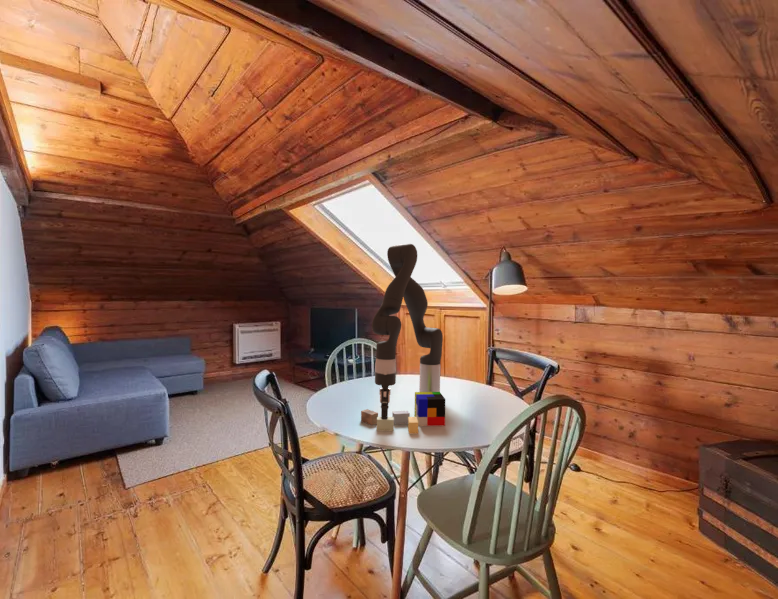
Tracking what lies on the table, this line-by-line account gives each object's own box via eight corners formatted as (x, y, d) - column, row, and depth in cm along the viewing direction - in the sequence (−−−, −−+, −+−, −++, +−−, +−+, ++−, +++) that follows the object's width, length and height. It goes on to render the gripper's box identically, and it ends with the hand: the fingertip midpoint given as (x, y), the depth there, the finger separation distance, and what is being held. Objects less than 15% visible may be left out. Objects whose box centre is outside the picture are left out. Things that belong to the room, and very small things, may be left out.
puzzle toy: (418, 425, 147) (418, 399, 146) (414, 416, 157) (414, 392, 156) (444, 425, 148) (445, 399, 147) (439, 416, 157) (439, 391, 157)
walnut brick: (361, 421, 151) (361, 411, 151) (367, 419, 153) (367, 409, 153) (371, 425, 147) (371, 414, 146) (377, 423, 149) (378, 412, 149)
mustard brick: (407, 427, 145) (408, 416, 145) (416, 427, 145) (416, 416, 145) (408, 433, 139) (409, 422, 139) (417, 433, 139) (418, 422, 139)
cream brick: (376, 430, 141) (376, 419, 141) (377, 427, 145) (377, 416, 144) (393, 431, 141) (393, 420, 141) (393, 427, 145) (393, 417, 144)
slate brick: (394, 424, 148) (394, 414, 148) (392, 421, 151) (392, 411, 151) (409, 423, 149) (409, 413, 149) (407, 420, 152) (407, 410, 152)
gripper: (375, 366, 149) (374, 409, 150) (374, 374, 135) (373, 421, 135) (395, 367, 149) (394, 409, 150) (396, 375, 135) (395, 422, 135)
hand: (384, 415), depth 143 cm, fingers open, 8 cm apart
